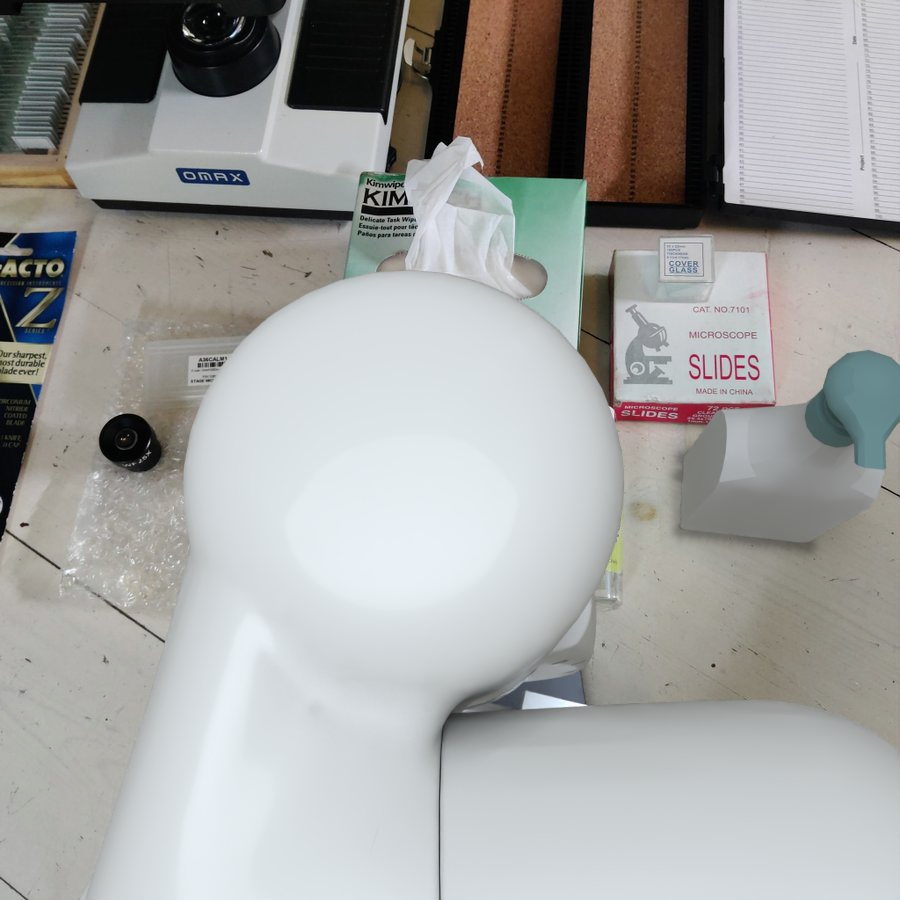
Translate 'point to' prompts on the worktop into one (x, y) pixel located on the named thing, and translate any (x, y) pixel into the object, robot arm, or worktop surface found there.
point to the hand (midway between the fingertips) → (464, 637)
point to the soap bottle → (795, 457)
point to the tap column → (547, 690)
